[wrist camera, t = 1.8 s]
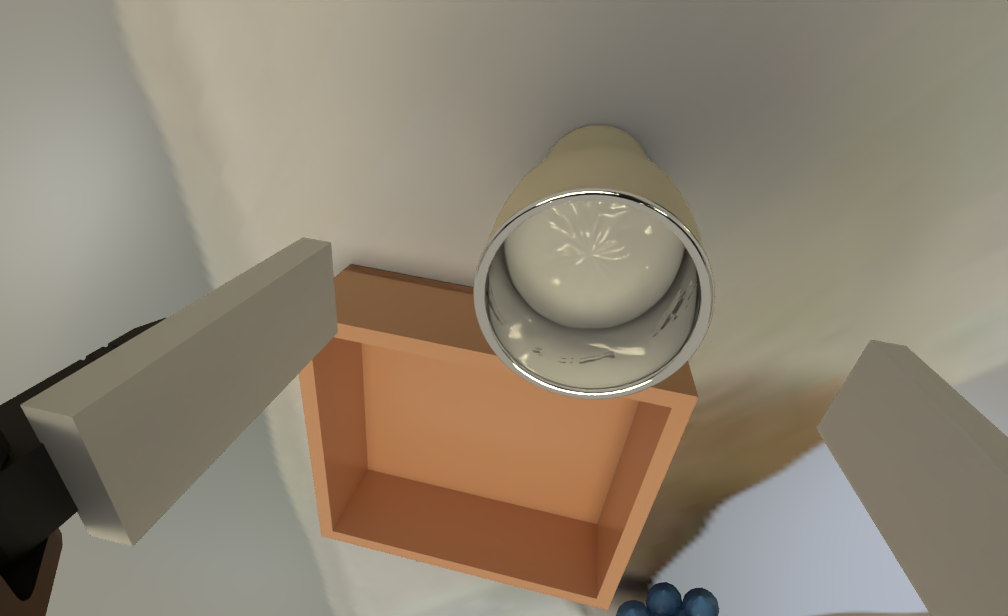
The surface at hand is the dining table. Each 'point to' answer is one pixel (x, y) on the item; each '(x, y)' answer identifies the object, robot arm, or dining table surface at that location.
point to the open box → (476, 446)
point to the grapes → (672, 603)
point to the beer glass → (594, 272)
